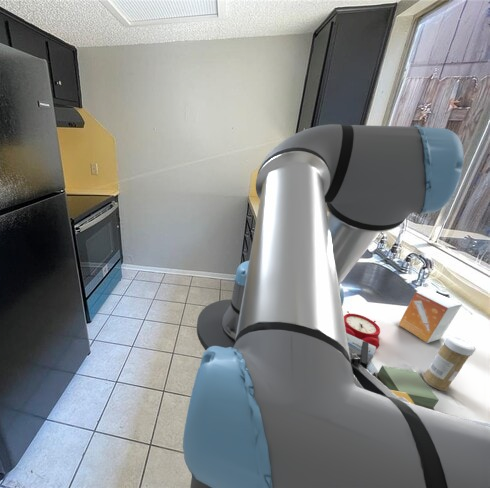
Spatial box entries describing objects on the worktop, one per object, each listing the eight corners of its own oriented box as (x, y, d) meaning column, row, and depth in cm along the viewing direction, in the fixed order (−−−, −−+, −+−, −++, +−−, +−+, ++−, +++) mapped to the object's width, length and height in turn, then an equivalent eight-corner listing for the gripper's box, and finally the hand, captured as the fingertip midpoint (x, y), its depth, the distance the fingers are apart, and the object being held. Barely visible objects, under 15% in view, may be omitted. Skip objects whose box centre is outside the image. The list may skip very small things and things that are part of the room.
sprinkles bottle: (452, 393, 61) (482, 351, 56) (430, 389, 62) (458, 347, 57) (438, 376, 65) (465, 336, 60) (417, 373, 66) (442, 332, 61)
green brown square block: (368, 382, 63) (378, 363, 61) (406, 389, 62) (417, 370, 59) (386, 414, 56) (398, 394, 53) (429, 423, 55) (444, 403, 52)
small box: (397, 325, 83) (414, 291, 77) (411, 321, 85) (428, 288, 79) (427, 343, 76) (448, 307, 70) (441, 339, 78) (463, 304, 72)
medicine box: (364, 371, 66) (377, 346, 62) (360, 382, 63) (373, 356, 59) (330, 353, 71) (340, 329, 67) (325, 362, 68) (335, 337, 65)
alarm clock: (382, 320, 79) (388, 340, 67) (374, 338, 80) (379, 360, 68) (342, 307, 84) (341, 322, 72) (336, 324, 86) (334, 342, 74)
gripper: (290, 447, 30) (321, 356, 46) (774, 722, 14) (564, 439, 30) (297, 391, 28) (326, 317, 44) (847, 633, 13) (585, 384, 29)
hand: (423, 366), depth 37 cm, fingers open, 13 cm apart
